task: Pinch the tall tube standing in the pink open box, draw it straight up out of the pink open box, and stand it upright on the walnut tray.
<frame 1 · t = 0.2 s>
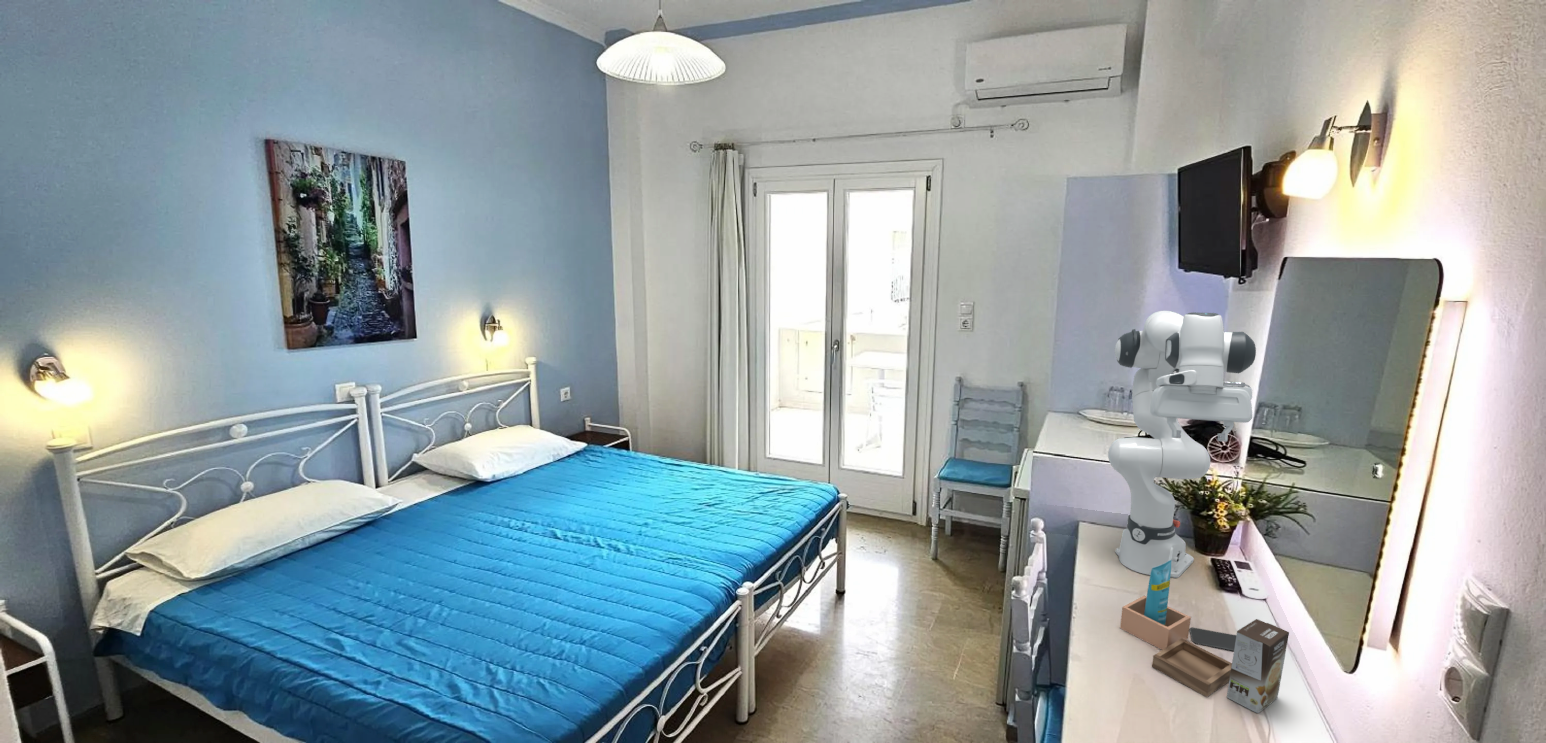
hand: (1199, 439, 156), 51 cm above the table, tool tilted 20°, fingers open, 8 cm apart
pink open box: (1153, 633, 168), on the table
coffee box: (1252, 698, 145), on the table
tray: (1192, 671, 154), on the table
smartphone: (1225, 644, 164), on the table
tube: (1153, 634, 168), resting in pink open box
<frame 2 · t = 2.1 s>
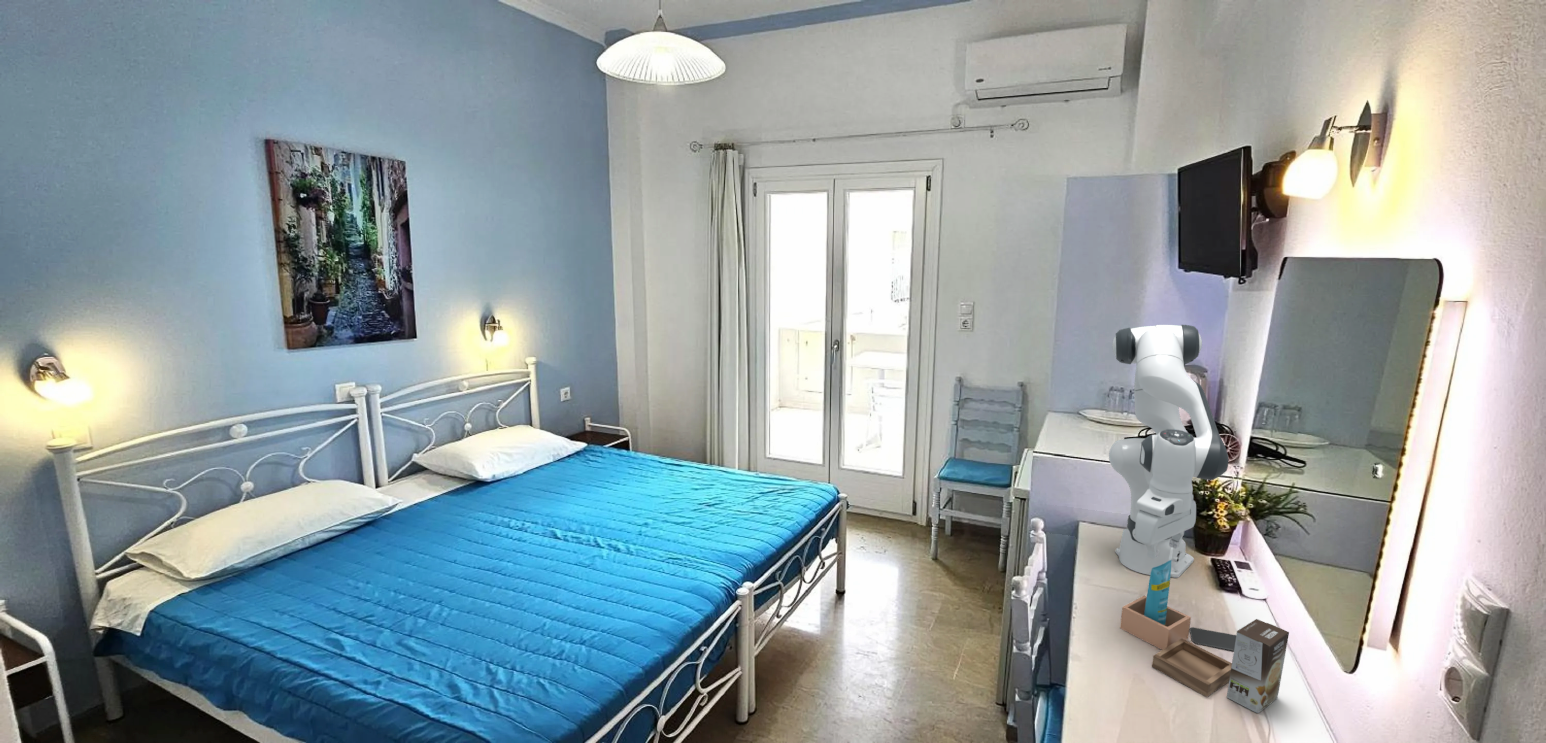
hand: (1163, 551, 163), 22 cm above the table, tool pointing down, fingers open, 8 cm apart
nothing on the table moved.
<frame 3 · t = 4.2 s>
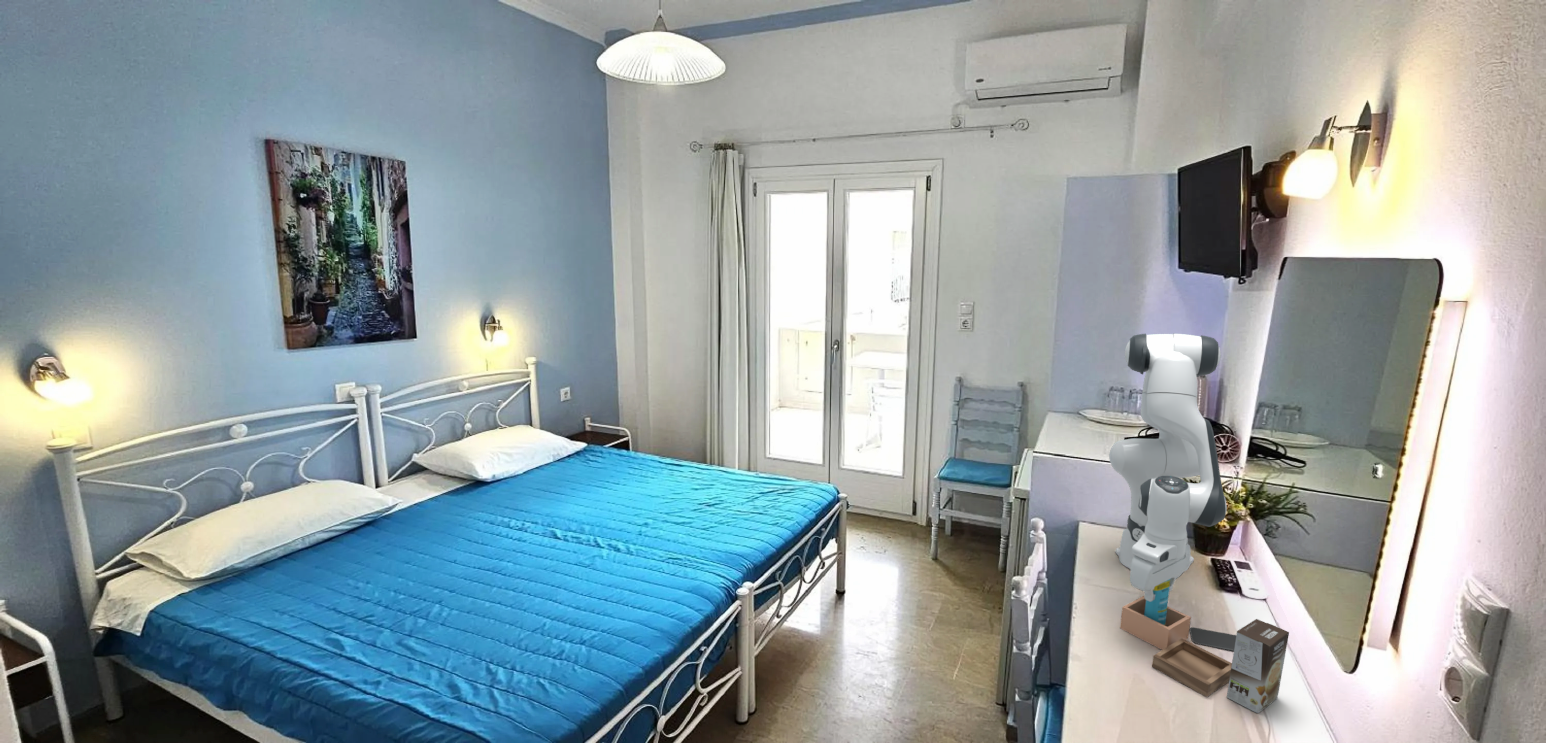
hand: (1158, 594, 166), 11 cm above the table, tool pointing down, fingers closed on tube, 6 cm apart
tube: (1153, 634, 168), resting in pink open box, touching gripper
everything else where it was.
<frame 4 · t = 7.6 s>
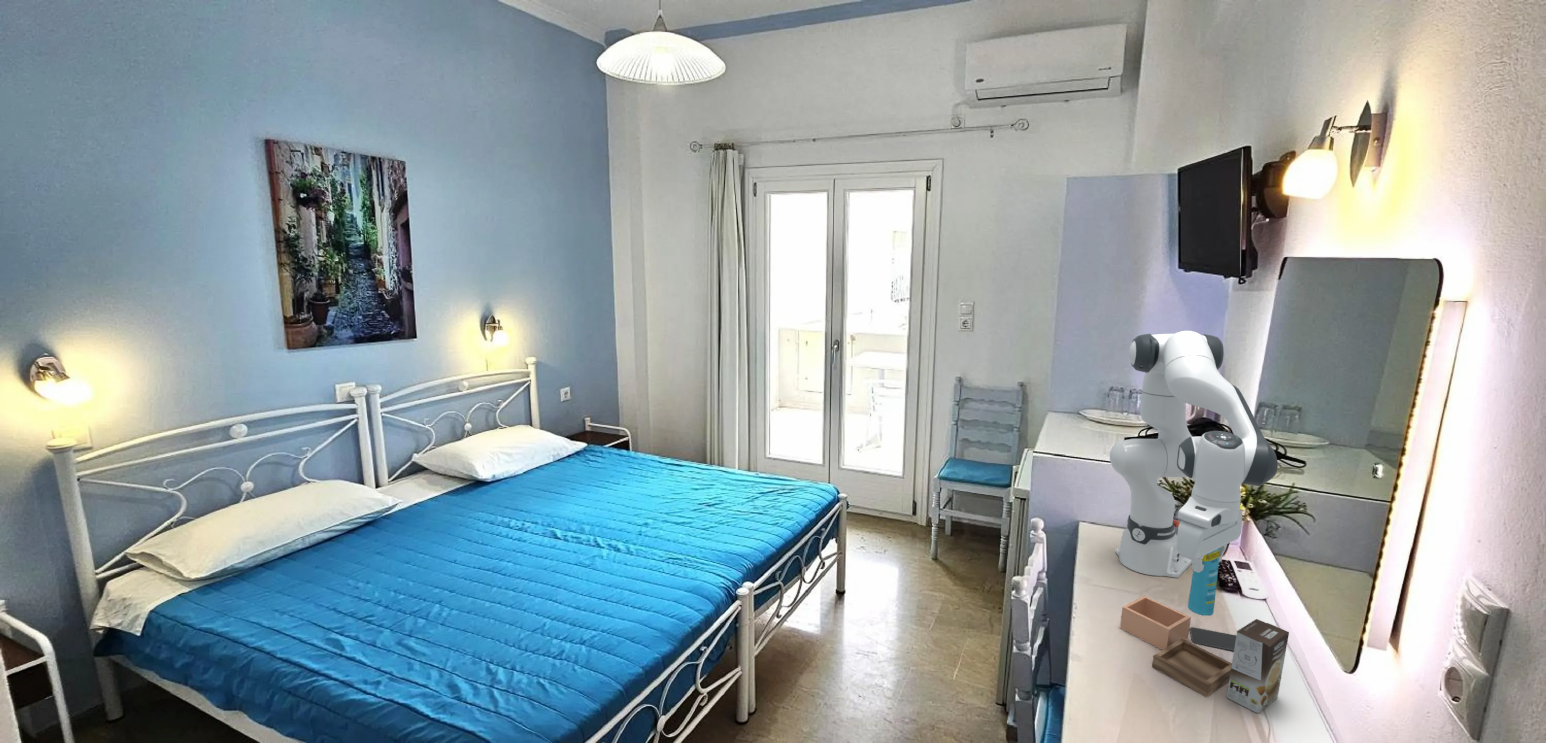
hand: (1206, 565, 148), 26 cm above the table, tool pointing down, fingers closed on tube, 6 cm apart
tube: (1201, 611, 150), point 15 cm above the table, touching gripper
everything else where it was.
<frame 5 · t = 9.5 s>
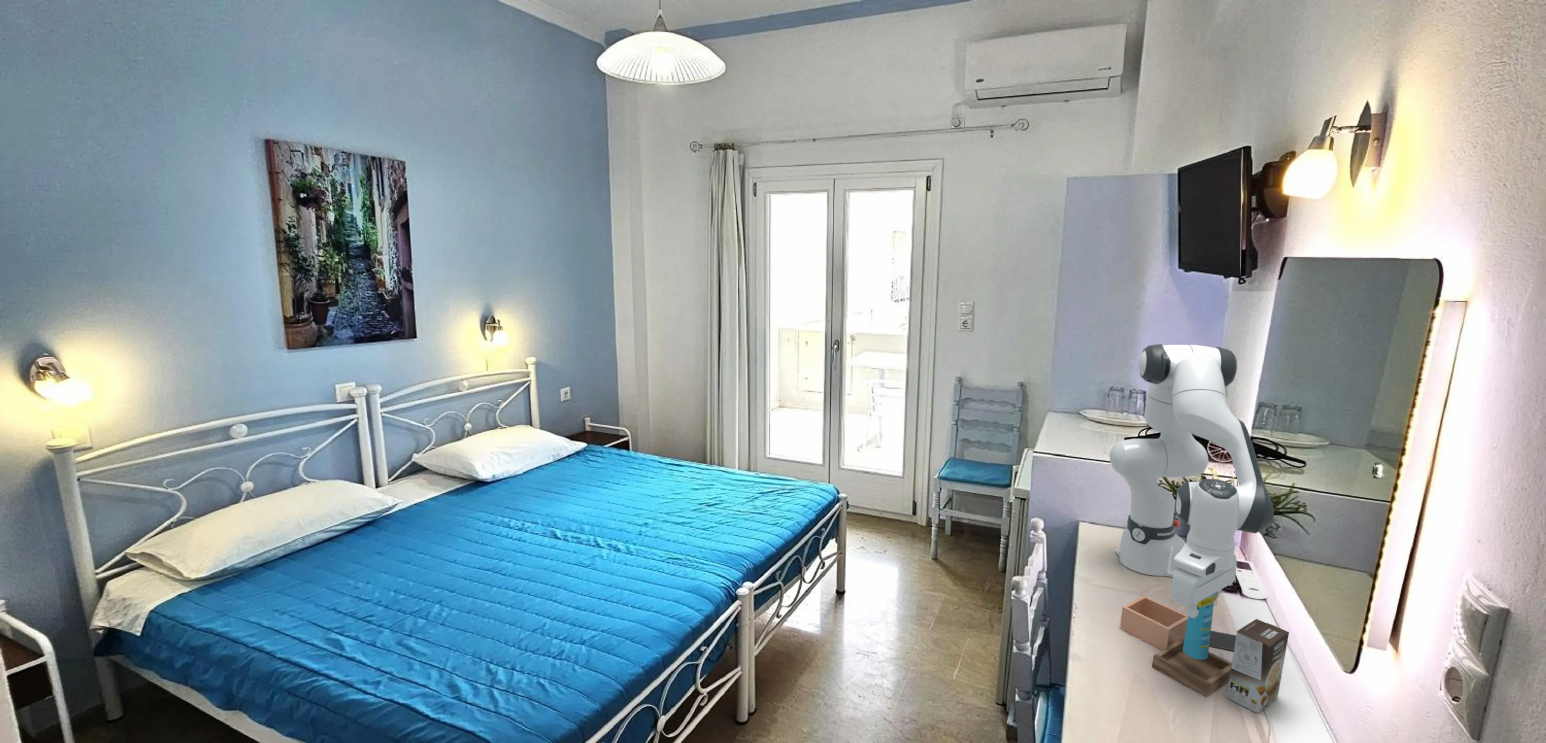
hand: (1201, 610, 150), 16 cm above the table, tool pointing down, fingers closed on tube, 6 cm apart
tube: (1195, 654, 153), point 5 cm above the table, touching gripper
everything else where it was.
when the fingers open (13 cm above the table, at t = 11.1 s): tube drops 1 cm, resting on tray.
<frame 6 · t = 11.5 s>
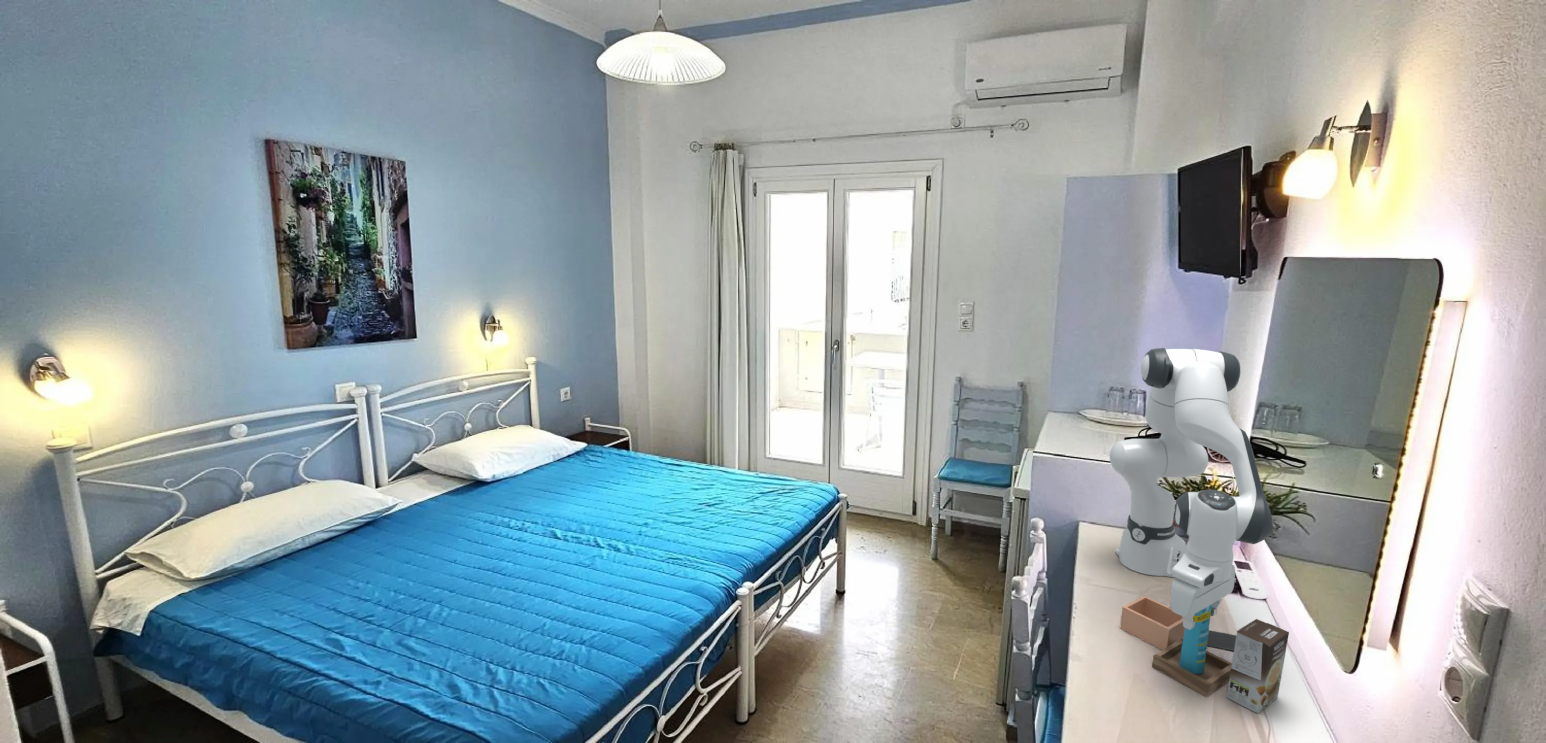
hand: (1199, 620, 151), 13 cm above the table, tool pointing down, fingers open, 8 cm apart
tube: (1192, 668, 154), point 1 cm above the table, touching tray
everything else where it was.
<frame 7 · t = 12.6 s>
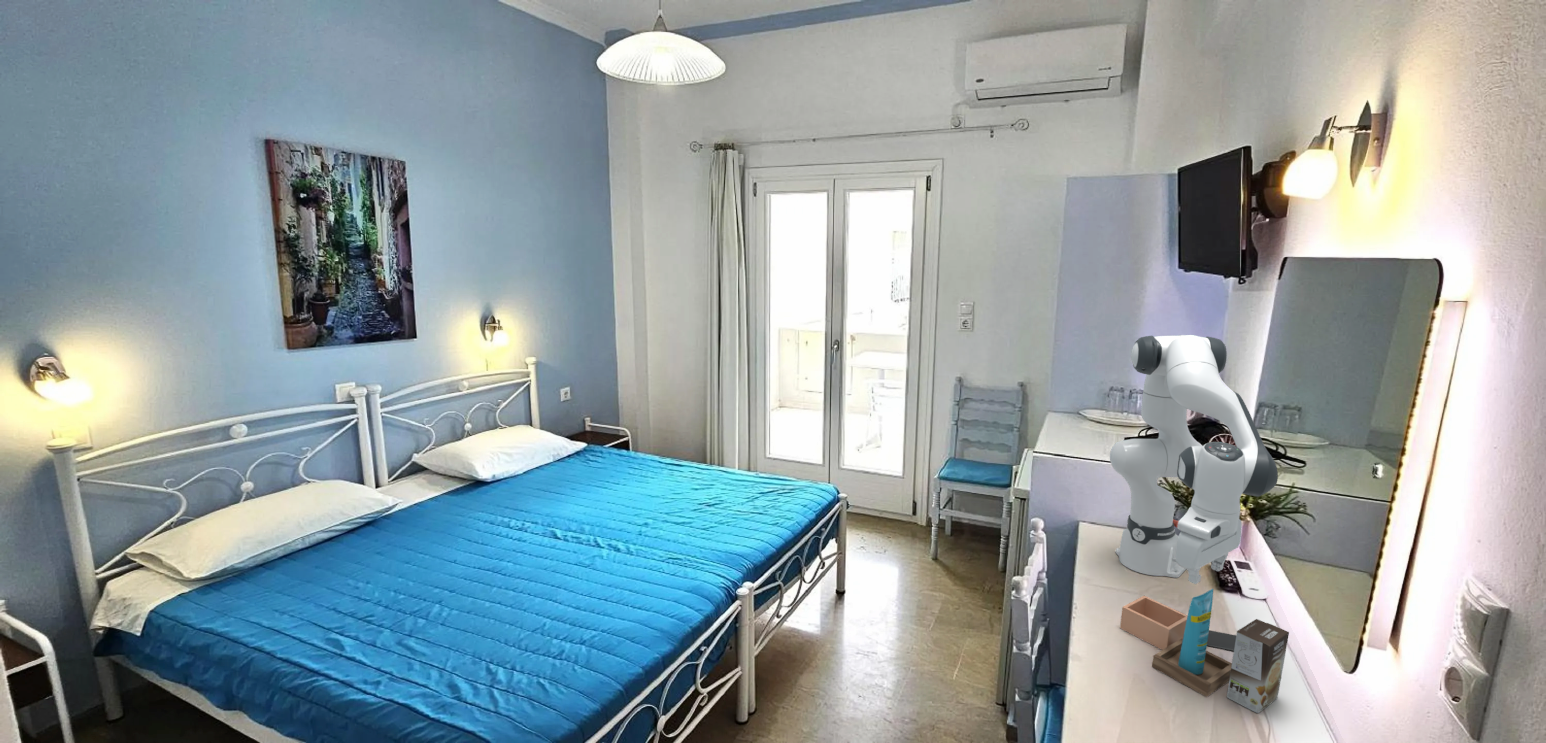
hand: (1205, 575, 149), 24 cm above the table, tool pointing down, fingers open, 8 cm apart
nothing on the table moved.
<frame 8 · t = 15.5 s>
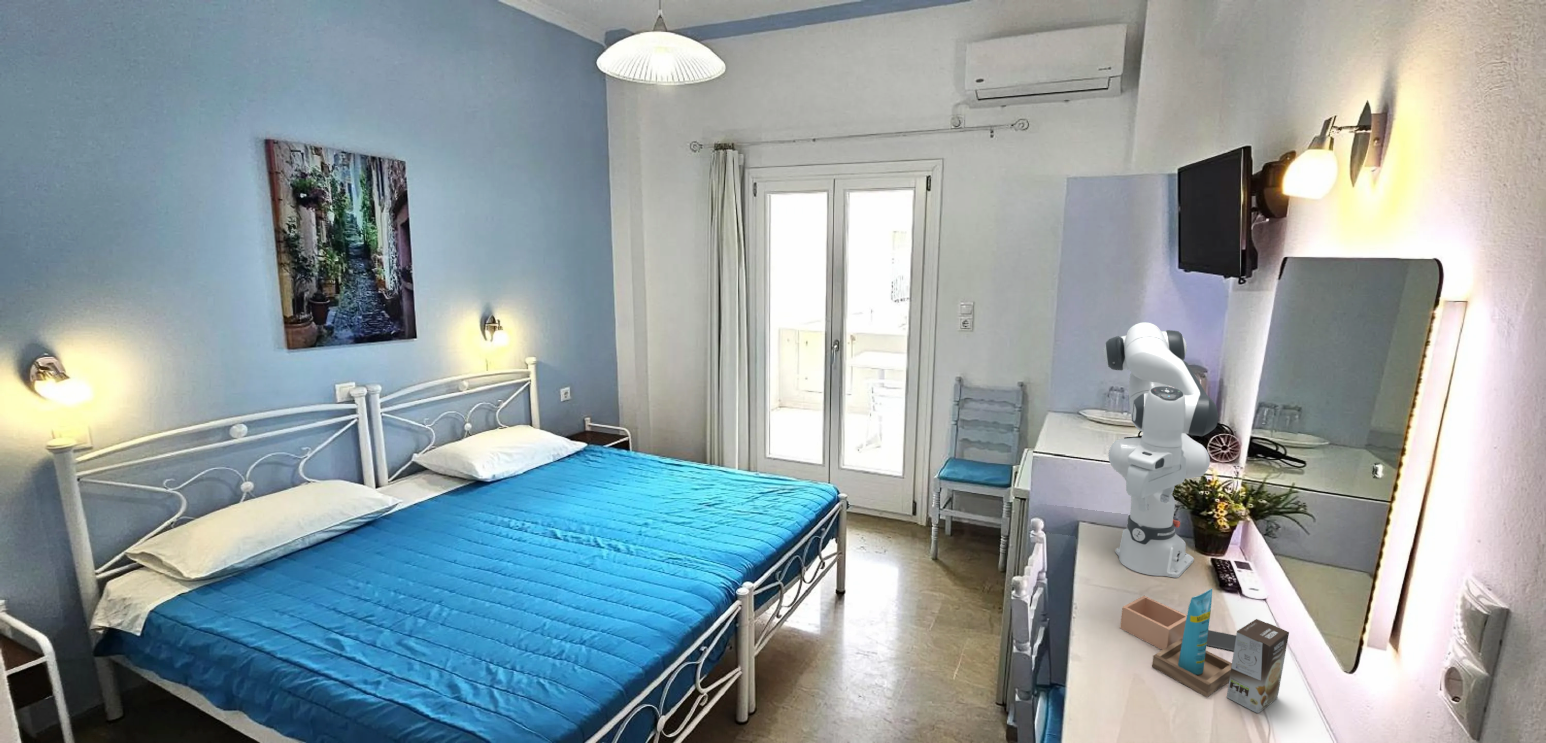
hand: (1154, 506, 168), 31 cm above the table, tool pointing down, fingers open, 8 cm apart
nothing on the table moved.
at the end: tube 0.6 cm off-centre on the tray, point 0.8 cm above the tray's base; tube tilted 0°; the gripper is holding nothing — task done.
